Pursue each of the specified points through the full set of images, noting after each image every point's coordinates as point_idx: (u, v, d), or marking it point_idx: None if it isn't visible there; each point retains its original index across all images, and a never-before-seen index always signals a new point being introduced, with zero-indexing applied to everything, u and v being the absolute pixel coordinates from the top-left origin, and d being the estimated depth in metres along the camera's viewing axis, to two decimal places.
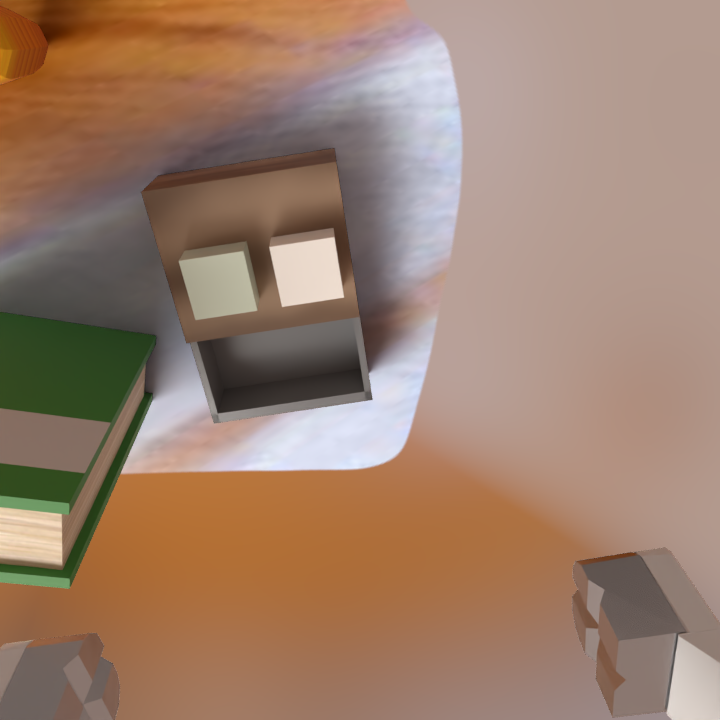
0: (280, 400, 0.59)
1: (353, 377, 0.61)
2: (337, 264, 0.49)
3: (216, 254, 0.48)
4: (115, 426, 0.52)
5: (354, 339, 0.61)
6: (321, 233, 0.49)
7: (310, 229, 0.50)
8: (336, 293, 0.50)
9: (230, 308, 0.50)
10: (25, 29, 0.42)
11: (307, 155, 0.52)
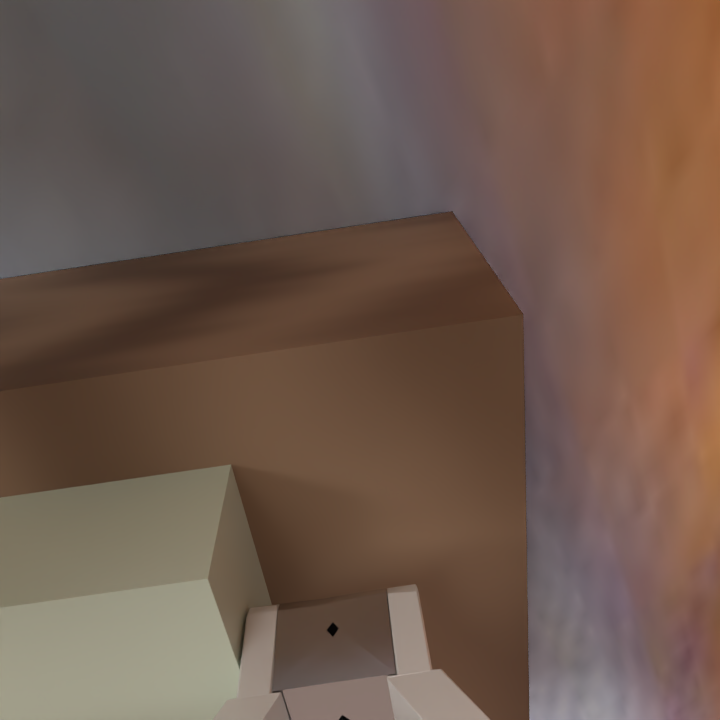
0: None
1: None
2: None
3: None
4: None
5: None
6: None
7: None
8: None
9: None
10: None
11: None
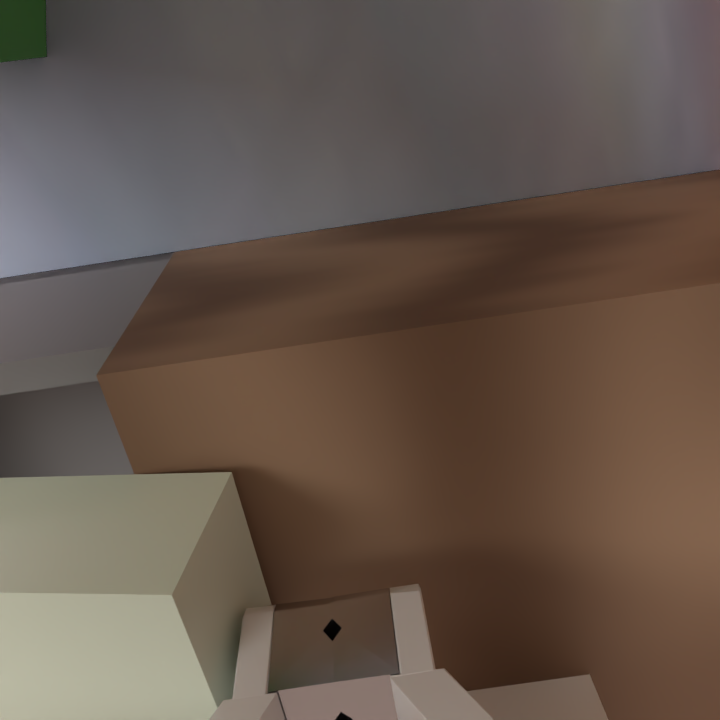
0: None
1: None
2: None
3: None
4: None
5: None
6: None
7: None
8: None
9: None
10: None
11: None
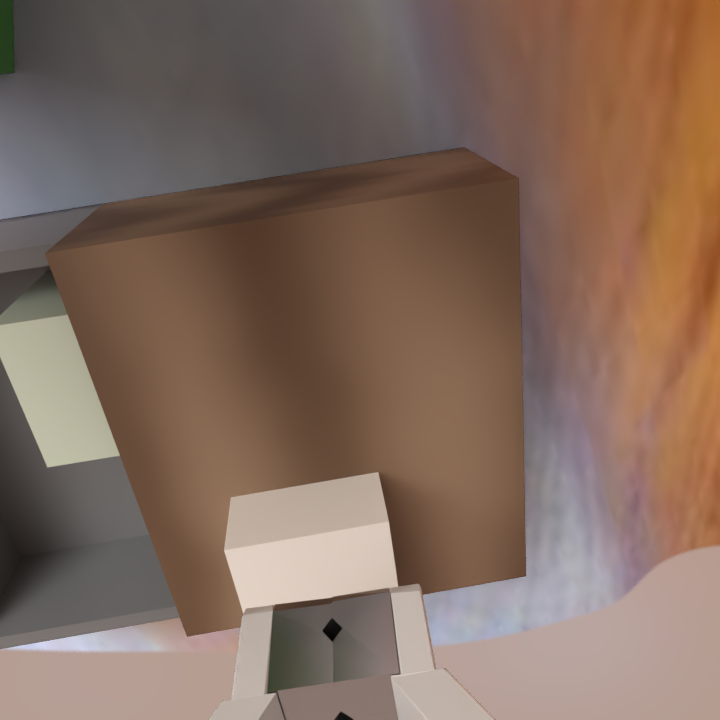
0: None
1: None
2: None
3: (28, 412, 0.20)
4: None
5: (93, 539, 0.28)
6: None
7: (392, 543, 0.23)
8: None
9: None
10: None
11: None
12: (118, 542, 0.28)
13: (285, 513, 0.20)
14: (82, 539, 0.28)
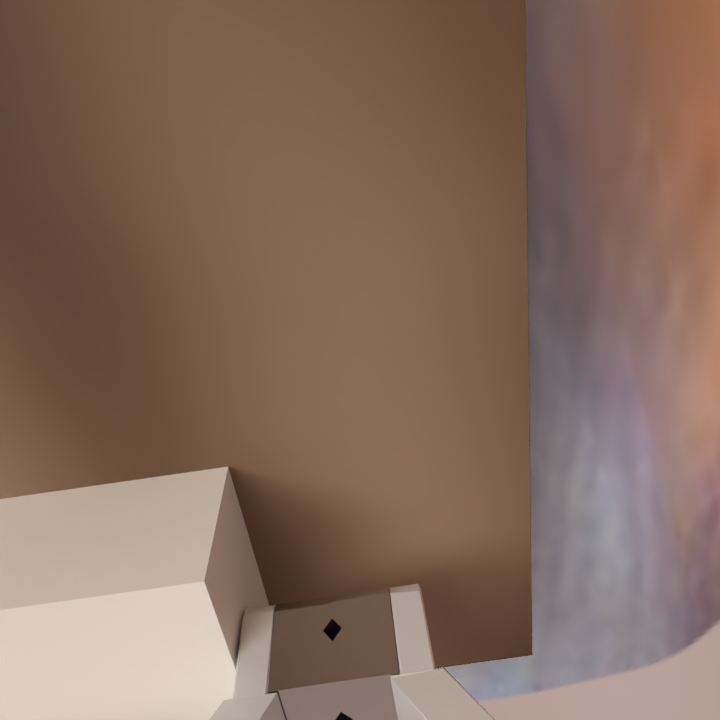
0: None
1: None
2: None
3: None
4: None
5: None
6: None
7: (281, 595, 0.12)
8: None
9: None
10: None
11: None
12: None
13: (13, 548, 0.10)
14: None
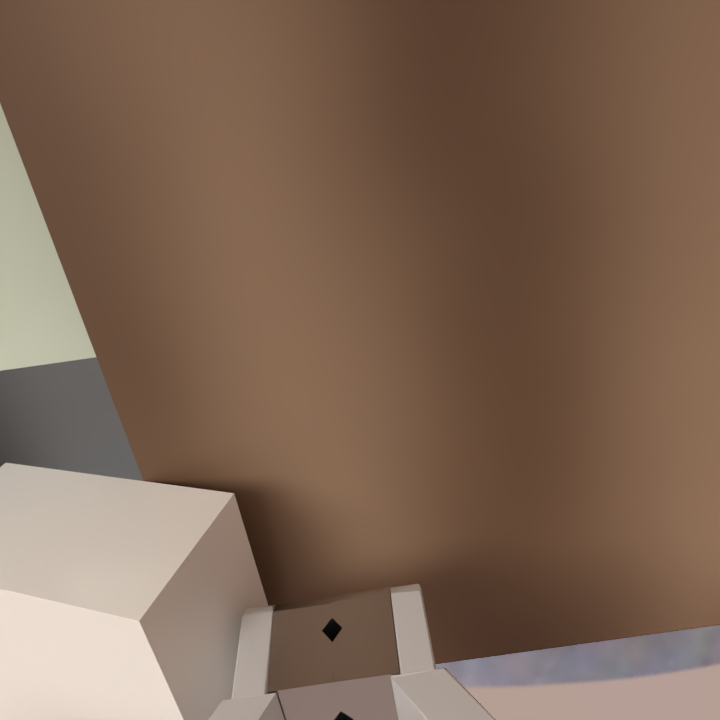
0: None
1: None
2: None
3: None
4: None
5: None
6: None
7: (608, 544, 0.12)
8: None
9: None
10: None
11: None
12: None
13: (26, 523, 0.10)
14: None
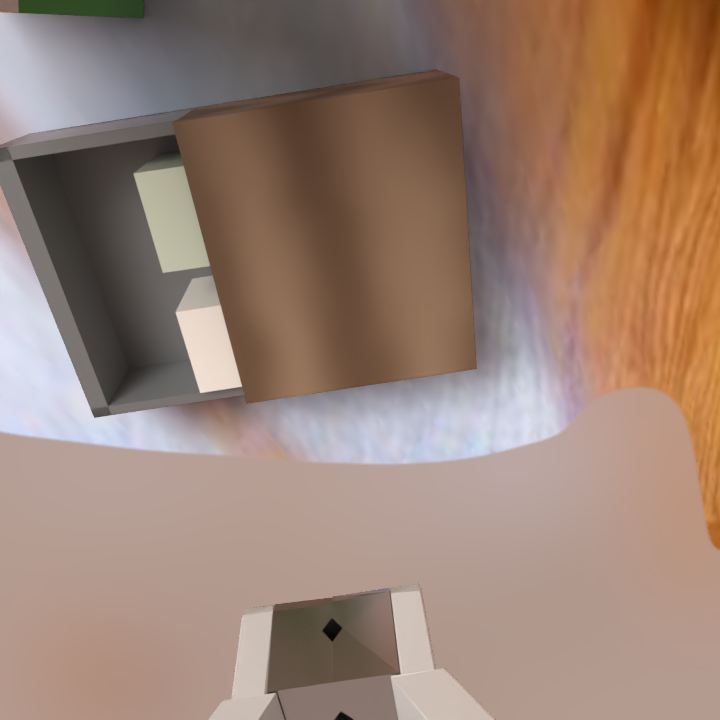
0: (62, 273, 0.33)
1: (117, 368, 0.38)
2: None
3: (153, 233, 0.31)
4: None
5: (178, 357, 0.40)
6: (221, 374, 0.35)
7: (384, 337, 0.34)
8: None
9: None
10: None
11: None
12: None
13: (207, 286, 0.36)
14: (170, 356, 0.40)
